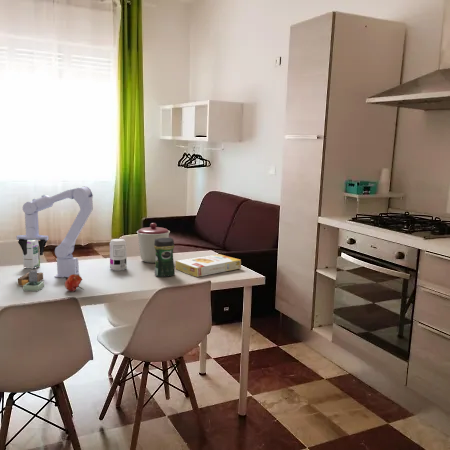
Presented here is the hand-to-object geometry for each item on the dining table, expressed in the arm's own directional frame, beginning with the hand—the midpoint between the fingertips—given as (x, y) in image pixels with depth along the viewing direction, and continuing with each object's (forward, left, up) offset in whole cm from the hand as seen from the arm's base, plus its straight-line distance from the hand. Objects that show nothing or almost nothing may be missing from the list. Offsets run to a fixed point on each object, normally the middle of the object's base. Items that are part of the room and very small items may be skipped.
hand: (33, 254), depth 227 cm
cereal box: (-83, -18, -11) cm, 85 cm away
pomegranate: (-27, +24, -10) cm, 38 cm away
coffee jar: (-62, -4, -10) cm, 63 cm away
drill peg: (-8, +22, -9) cm, 25 cm away
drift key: (-3, +16, -10) cm, 19 cm away
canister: (-52, -34, -10) cm, 63 cm away
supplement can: (-37, -15, -10) cm, 41 cm away
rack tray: (-9, +22, -10) cm, 26 cm away
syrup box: (+7, -14, -10) cm, 19 cm away
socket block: (-4, +13, -10) cm, 16 cm away
